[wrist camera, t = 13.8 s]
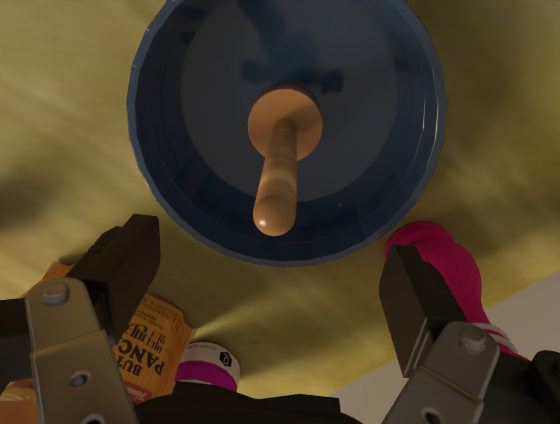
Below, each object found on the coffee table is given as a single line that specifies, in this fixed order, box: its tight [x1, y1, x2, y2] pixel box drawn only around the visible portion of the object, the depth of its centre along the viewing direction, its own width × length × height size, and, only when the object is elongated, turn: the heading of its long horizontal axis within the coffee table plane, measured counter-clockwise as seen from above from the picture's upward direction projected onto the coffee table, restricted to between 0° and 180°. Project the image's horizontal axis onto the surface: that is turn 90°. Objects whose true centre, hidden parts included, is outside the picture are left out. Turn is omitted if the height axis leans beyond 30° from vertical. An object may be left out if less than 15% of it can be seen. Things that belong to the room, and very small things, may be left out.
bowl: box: [127, 0, 447, 267], centre depth 28 cm, size 21×21×6 cm
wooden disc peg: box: [248, 84, 323, 236], centre depth 22 cm, size 6×6×17 cm
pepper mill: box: [385, 222, 530, 361], centre depth 27 cm, size 7×7×20 cm
